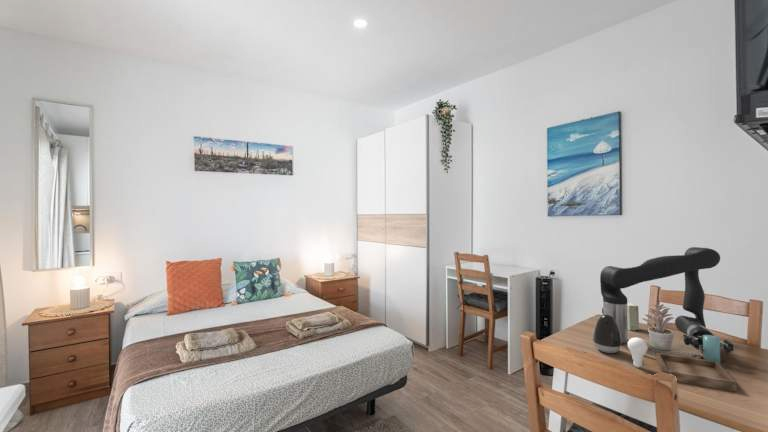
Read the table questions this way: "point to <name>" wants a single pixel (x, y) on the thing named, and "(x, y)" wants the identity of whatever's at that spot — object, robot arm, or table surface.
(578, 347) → the table surface
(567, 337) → the table surface
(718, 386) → the walnut tray
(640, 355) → the lightbulb
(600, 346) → the black rounded dome
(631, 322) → the skincare box
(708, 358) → the teal canister
